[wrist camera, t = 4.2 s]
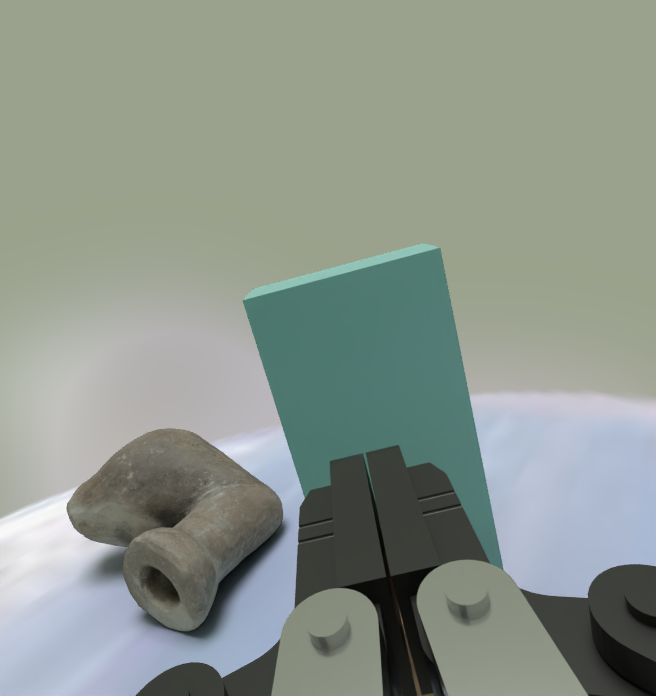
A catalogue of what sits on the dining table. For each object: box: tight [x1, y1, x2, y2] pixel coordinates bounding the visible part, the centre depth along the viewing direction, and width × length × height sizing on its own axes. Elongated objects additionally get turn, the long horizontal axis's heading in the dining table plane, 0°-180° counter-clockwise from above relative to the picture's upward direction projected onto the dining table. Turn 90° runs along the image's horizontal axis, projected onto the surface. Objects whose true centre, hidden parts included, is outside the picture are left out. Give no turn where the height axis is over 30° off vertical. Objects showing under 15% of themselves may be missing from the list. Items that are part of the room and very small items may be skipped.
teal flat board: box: [243, 243, 504, 571], centre depth 18 cm, size 2×6×16 cm, turn 91°
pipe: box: [67, 429, 283, 631], centre depth 35 cm, size 16×9×15 cm
